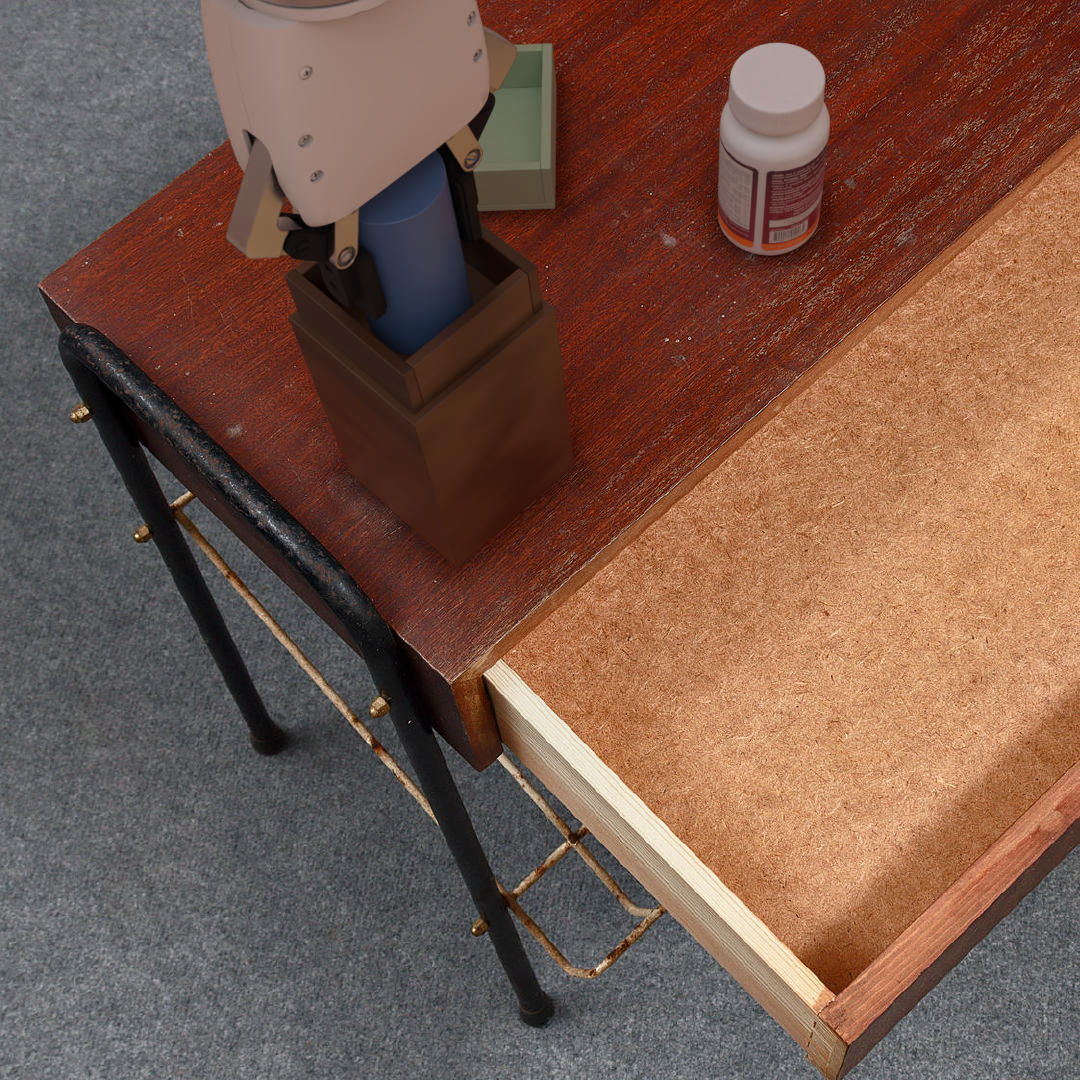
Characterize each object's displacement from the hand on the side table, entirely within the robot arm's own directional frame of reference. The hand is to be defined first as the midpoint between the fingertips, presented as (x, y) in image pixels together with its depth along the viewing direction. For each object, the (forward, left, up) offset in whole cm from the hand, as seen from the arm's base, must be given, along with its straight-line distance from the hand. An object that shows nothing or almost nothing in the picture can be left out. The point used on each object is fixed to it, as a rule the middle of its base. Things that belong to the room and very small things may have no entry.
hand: (407, 258), depth 65 cm
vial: (0, 0, -4) cm, 4 cm away
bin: (0, +24, -18) cm, 29 cm away
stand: (0, 0, -18) cm, 18 cm away
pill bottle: (+18, +17, -18) cm, 31 cm away
